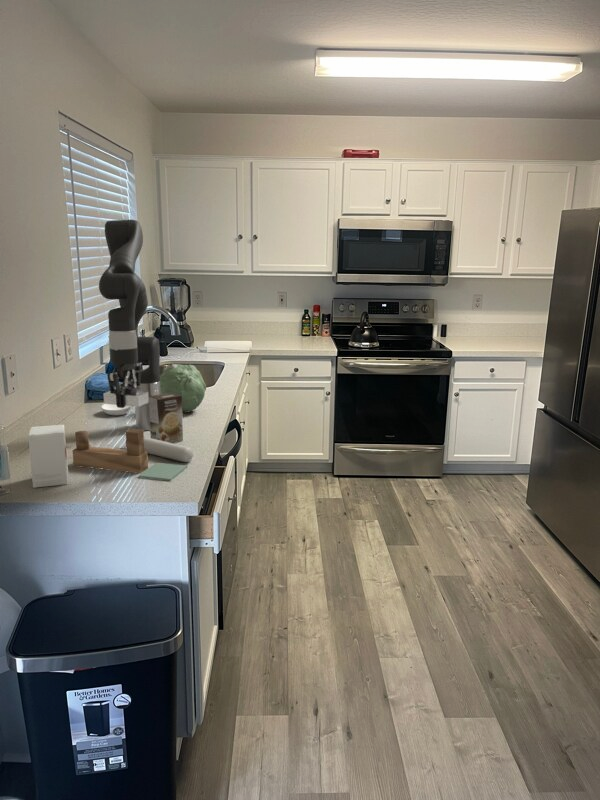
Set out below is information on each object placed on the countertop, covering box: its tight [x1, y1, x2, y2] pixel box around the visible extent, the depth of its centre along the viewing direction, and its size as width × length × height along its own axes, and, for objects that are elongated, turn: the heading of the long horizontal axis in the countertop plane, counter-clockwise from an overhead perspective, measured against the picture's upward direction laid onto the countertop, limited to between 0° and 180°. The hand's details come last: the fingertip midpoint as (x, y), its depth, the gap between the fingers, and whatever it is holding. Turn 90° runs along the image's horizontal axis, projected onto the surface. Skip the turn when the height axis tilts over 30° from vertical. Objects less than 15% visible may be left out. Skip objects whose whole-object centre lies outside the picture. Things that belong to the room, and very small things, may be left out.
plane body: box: [72, 428, 149, 474], centre depth 171 cm, size 4×22×12 cm, turn 77°
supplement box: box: [27, 424, 69, 488], centre depth 160 cm, size 9×9×15 cm
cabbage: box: [160, 363, 207, 414], centre depth 232 cm, size 16×19×20 cm
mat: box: [137, 462, 188, 482], centre depth 169 cm, size 11×10×1 cm
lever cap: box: [103, 386, 149, 407], centre depth 165 cm, size 6×11×5 cm, turn 75°
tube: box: [125, 436, 194, 463], centre depth 182 cm, size 5×5×25 cm
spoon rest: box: [100, 403, 132, 417], centre depth 235 cm, size 24×12×7 cm, turn 162°
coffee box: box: [149, 393, 184, 444], centre depth 195 cm, size 9×6×16 cm
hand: (126, 404), depth 166 cm, fingers closed on lever cap, 5 cm apart
